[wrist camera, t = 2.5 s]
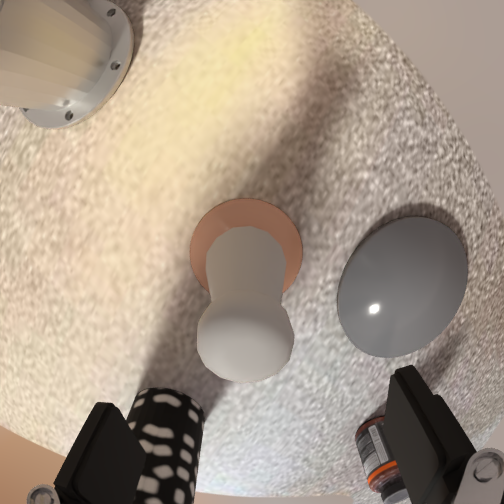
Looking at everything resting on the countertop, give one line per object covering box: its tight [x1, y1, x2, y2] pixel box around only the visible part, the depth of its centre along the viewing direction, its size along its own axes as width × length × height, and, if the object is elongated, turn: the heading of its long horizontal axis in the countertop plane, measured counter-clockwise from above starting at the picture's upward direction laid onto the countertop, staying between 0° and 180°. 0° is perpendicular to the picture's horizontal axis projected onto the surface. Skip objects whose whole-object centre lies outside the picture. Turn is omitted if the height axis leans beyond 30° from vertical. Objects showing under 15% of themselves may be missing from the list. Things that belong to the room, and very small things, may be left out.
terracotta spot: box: [190, 199, 302, 293], centre depth 25 cm, size 9×9×1 cm
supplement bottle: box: [355, 416, 409, 504], centre depth 26 cm, size 6×6×11 cm
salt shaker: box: [197, 226, 294, 383], centre depth 18 cm, size 6×6×13 cm
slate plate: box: [337, 216, 468, 358], centre depth 25 cm, size 14×14×1 cm
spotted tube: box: [126, 388, 205, 504], centre depth 21 cm, size 8×8×20 cm
